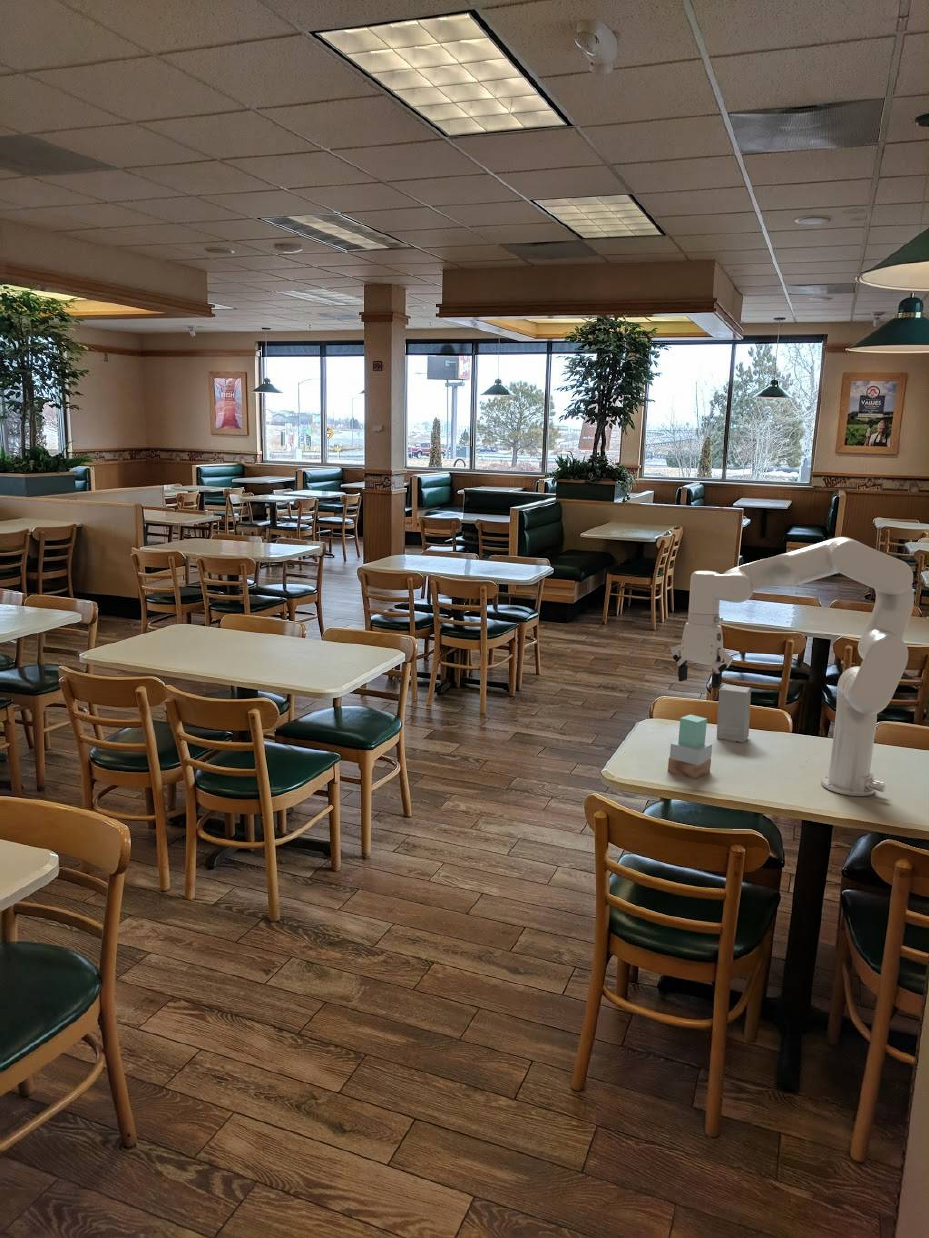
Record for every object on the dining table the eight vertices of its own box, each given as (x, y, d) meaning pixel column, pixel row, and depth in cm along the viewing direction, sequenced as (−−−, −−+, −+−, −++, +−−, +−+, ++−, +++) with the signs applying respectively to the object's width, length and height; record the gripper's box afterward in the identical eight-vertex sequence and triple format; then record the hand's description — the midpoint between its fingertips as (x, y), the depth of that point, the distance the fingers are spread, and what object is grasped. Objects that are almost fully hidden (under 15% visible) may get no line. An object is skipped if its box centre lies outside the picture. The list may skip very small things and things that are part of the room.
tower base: (709, 773, 236) (711, 758, 236) (694, 780, 231) (696, 765, 230) (682, 765, 242) (684, 751, 241) (667, 772, 236) (668, 757, 235)
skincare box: (748, 738, 267) (753, 687, 264) (742, 744, 261) (748, 692, 258) (720, 733, 271) (725, 682, 268) (713, 738, 265) (718, 687, 262)
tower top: (710, 758, 236) (712, 743, 235) (697, 765, 230) (699, 750, 229) (683, 751, 241) (684, 737, 240) (669, 758, 235) (670, 743, 234)
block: (704, 744, 235) (707, 718, 234) (695, 748, 231) (697, 722, 230) (687, 739, 238) (689, 714, 237) (678, 743, 235) (680, 717, 233)
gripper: (741, 622, 225) (736, 687, 228) (681, 613, 237) (677, 675, 240) (726, 625, 220) (722, 693, 223) (666, 616, 232) (662, 680, 235)
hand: (699, 684), depth 231 cm, fingers open, 9 cm apart
